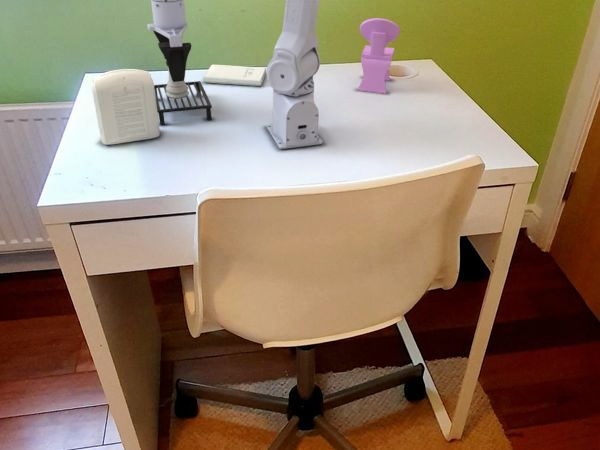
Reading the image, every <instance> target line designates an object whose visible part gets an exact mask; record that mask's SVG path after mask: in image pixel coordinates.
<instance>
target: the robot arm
mask: <svg viewBox="0 0 600 450" xmlns="http://www.w3.org/2000/svg"><path fill="white" fill-rule="evenodd" d="M150 4H151V12H152V21H153V23H147V24H146V26H147V30H148V31H152V32H153V34H154V35H155V37H156V39H157V41H158V43H157V46H158V49H159V50H160V52H161V53H162V55H163V58H164V63H165V65H166V66H167V67H168V68H169V71H168V73H169V72H170V75H171V78H172V81H173V82H179V81H185V79H186V70H187V61H188V57H189V55H190V52H191V50H192V43H191V42H183V36H184V34H185V33H186V31H187V30H188V28H189V26H188V22H187V17H186V16H187V15H186V7H185V0H150ZM284 5H285V6H284V13H283V21H282V31H281V32H280V33H281V34H280V35H279V37H278V39H277V42H276V44H275V45H274V48H273V49H274V50H273V55H272V57H271V59H270V61H269V62H268V64H267V66H266V75H265V76H266V79H267V82H268V84H269V85H270V87H271V88H272V123H268V124H266V126H265V127H266V129H267V131H268V132H269V134H270V135H271V137H272V139H273V140H274V142H275V144H276V145H277V147H278V149H279V150H286V149H293V148H302V147H311V146H316V145H318V146H319V145H322V144H323V139H322V138H321V137H320V136H319V119H320V117H319V116H320V112H319V108H318V106H317V105H316V103H315V99H314V98H315V82H314V76H315V75H316V74H317V73H318V71H319V69H320V67H321V58H320V54H319V50H318V49H319V42H320V41H319V38H318V37H317V35H316V33H315V30H316V25H317V18H318V13H319V6H320V0H285V4H284ZM165 59H166V61H167V62H166V61H165Z"/></svg>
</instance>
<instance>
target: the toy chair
mask: <svg viewBox="0 0 600 450" xmlns="http://www.w3.org/2000/svg"><path fill="white" fill-rule="evenodd" d="M359 33H360V35H361V36H362V37H363V38H364V39H365V40H366V41H367V42H369V44H370V45H367V44H365V45H364V48H363V50H362V52H361V54H360V55H361V57H360V64H361V68H362V80H361V82H360V85H359V86H358V88H357V91H359V92H368V93H378V94H385V95H386V94H387V88H386V82H387V81H388V82H390V81H391V77H390V72H389V68H390V67H391V65H392V60H393V57H394V54H395V47H386V46H387V45H389V44H390V43H392V42H393V41H395V40H396V39H398V37H399V36H400V33H401V28H400V26H399V25H398V24H397V23H396V22H394V21H392V20H390V19H388V18H379V17H375V18H369V19H366V20H364V21H362V22H361V24H360V25H359ZM385 81H386V82H385Z"/></svg>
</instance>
